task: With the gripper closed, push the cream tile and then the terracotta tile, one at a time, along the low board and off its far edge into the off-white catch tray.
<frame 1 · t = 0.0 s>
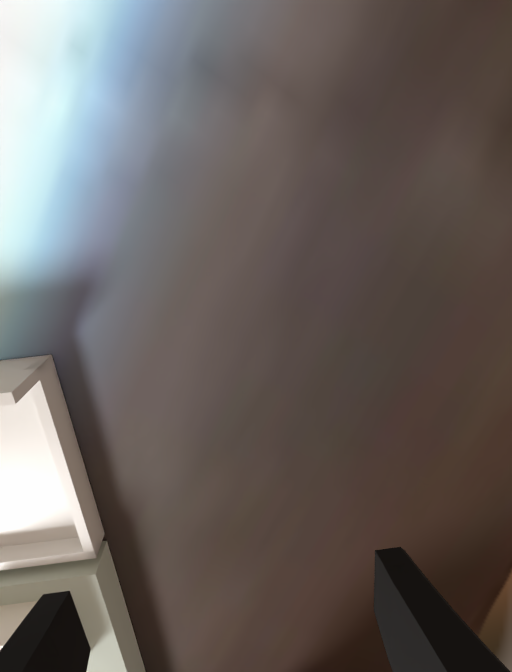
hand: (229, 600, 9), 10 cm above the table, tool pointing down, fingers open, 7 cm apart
tile cream: (33, 633, 21), point 2 cm above the table, touching board
board: (14, 644, 24), on the table
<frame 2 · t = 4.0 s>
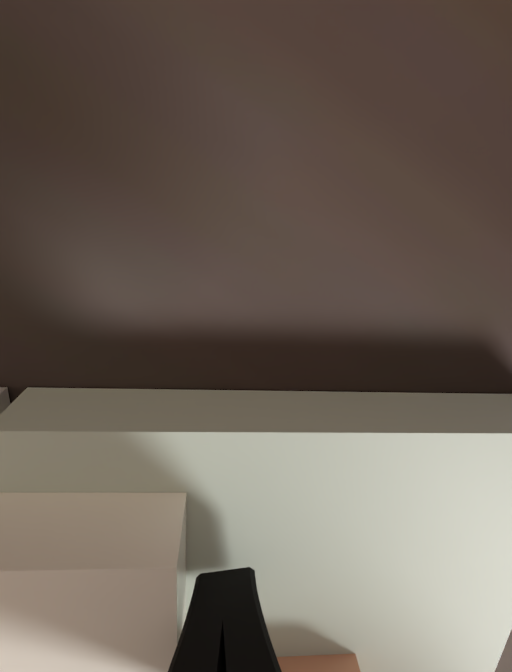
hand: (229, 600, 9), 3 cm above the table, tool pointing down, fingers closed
tile cream: (95, 564, 10), point 2 cm above the table, touching gripper
board: (275, 576, 13), on the table
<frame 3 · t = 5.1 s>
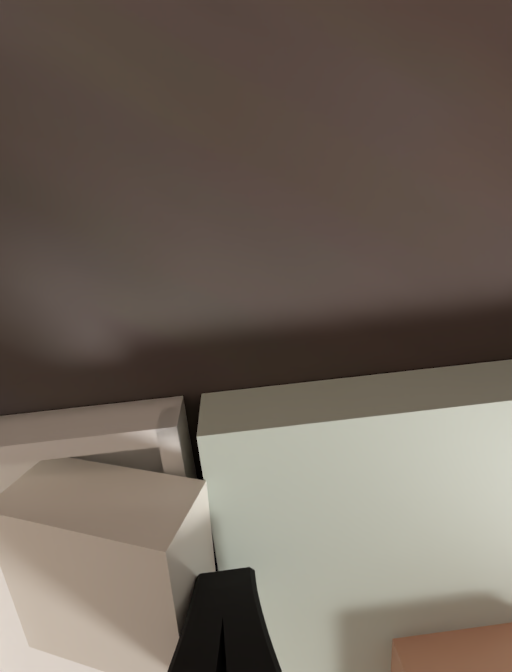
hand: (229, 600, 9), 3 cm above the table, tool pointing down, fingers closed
tray: (54, 601, 13), on the table
tile cream: (135, 535, 11), point 1 cm above the table, tilted 20°, touching gripper
board: (434, 552, 13), on the table
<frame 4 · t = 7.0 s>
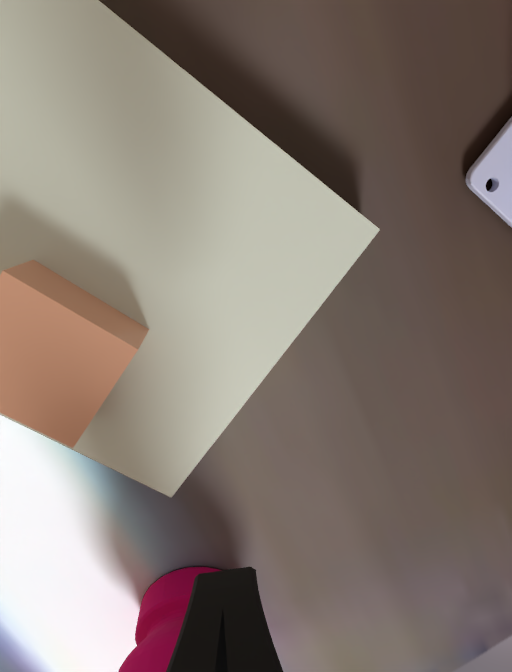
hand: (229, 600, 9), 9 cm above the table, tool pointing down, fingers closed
tile terracotta: (64, 344, 15), point 2 cm above the table, touching board
board: (118, 268, 16), on the table
pepper mill: (197, 601, 23), on the table
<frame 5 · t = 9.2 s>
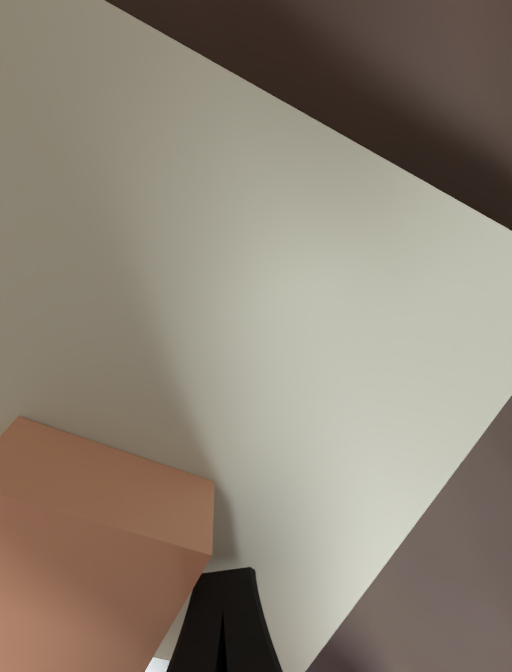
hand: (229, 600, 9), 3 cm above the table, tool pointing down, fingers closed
tile terracotta: (89, 523, 9), point 2 cm above the table, touching board
board: (169, 391, 11), on the table
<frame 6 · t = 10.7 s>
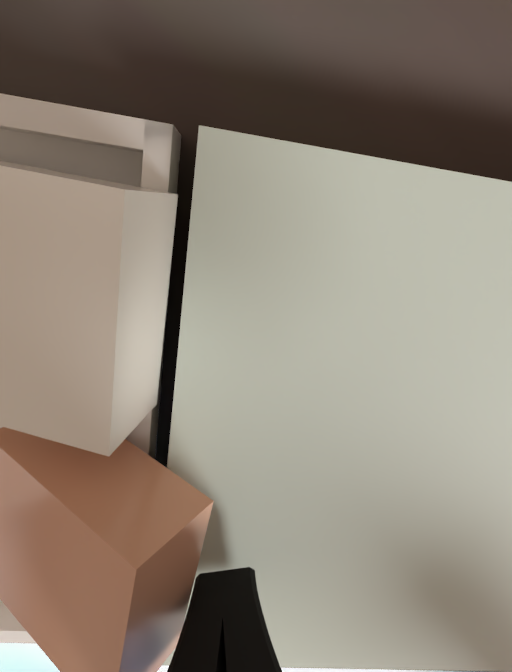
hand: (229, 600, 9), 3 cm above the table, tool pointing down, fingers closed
tile terracotta: (124, 520, 10), point 2 cm above the table, tilted 36°, touching gripper
tile cream: (66, 286, 8), point 1 cm above the table, tilted 15°, touching tray
board: (414, 439, 12), on the table
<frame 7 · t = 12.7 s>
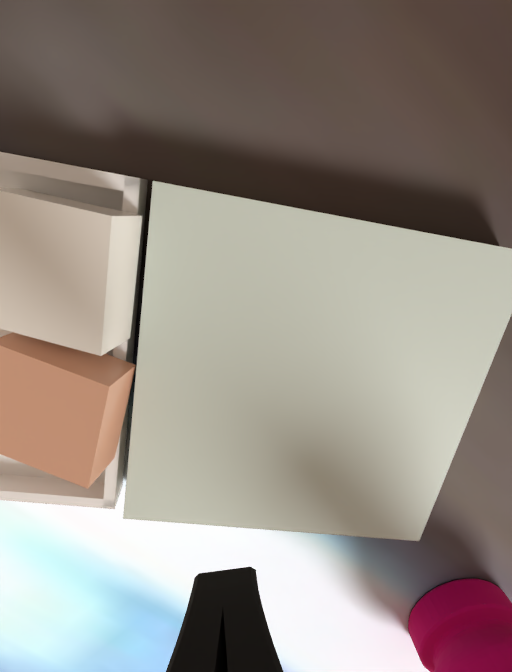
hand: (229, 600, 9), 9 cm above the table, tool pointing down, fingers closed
tile terracotta: (74, 394, 16), point 1 cm above the table, tilted 14°, touching tray
tray: (2, 335, 16), on the table
tile cream: (78, 265, 14), point 1 cm above the table, tilted 15°, touching tray
board: (303, 375, 18), on the table
pepper mill: (454, 610, 24), on the table
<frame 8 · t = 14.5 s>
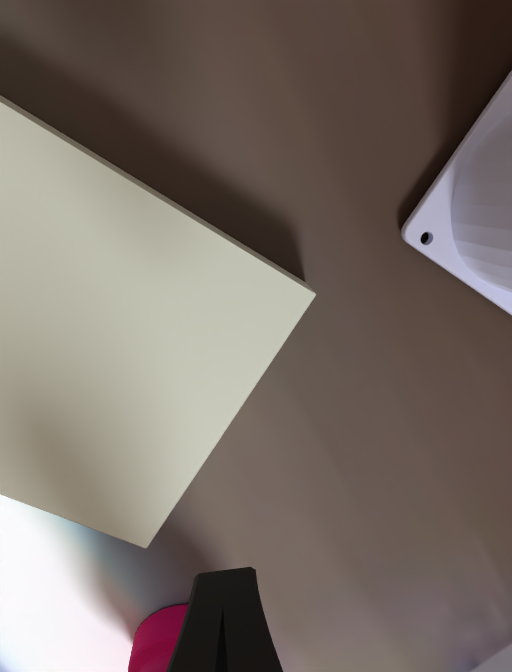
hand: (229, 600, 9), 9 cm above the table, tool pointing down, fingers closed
board: (77, 339, 17), on the table
pepper mill: (188, 635, 24), on the table
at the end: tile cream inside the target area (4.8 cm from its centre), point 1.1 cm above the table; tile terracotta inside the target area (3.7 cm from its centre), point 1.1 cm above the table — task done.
